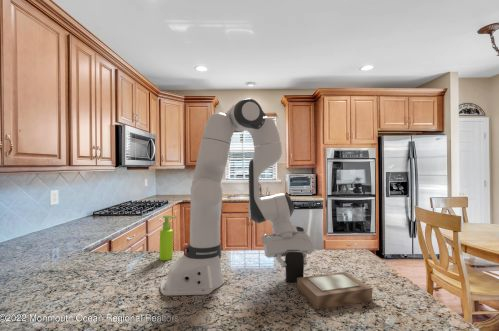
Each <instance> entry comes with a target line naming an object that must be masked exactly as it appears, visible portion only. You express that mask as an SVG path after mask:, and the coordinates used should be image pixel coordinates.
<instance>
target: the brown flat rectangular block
mask: <svg viewBox="0 0 499 331" xmlns="http://www.w3.org/2000/svg"><path fill="white" fill-rule="evenodd" d="M296 290H297V291H298V292H299V293H300V294H301V295H302V296H303V297H304V298H305V299H306V300H307V301H308V302H309V303H310V304H311V305H312V307H314V308H315V309H316V310H323V309H329V308H336V307H341V306H348V305H355V304H359V303H360V304H361V303H365V302H371V301H373V288H372V287H371V286H370V285H368V284H366V283H364V282H363V281H362V280H360V279H358V278H356V277H355V276H353V275H352V274H350V273H348V272H347V271H343V272H334V273H328V274H327V273H326V274H318V275H316V274H315V275H309V276H303V277H300V278H297V282H296Z"/></svg>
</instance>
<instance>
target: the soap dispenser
mask: <svg viewBox="0 0 499 331" xmlns="http://www.w3.org/2000/svg"><path fill="white" fill-rule="evenodd" d="M162 218H164V222H162V229H161V230H159V254H158V255H159V256H158V257H159V260H160V261H169V260H172V259H173V255H174V253H173V252H174V251H173V250H174V249H173V248H174V246H173V244H174V230H173V229H171V222H169V221H170V220H169V219H175V218H176V216H174V215H164V216H162Z"/></svg>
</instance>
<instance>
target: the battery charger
mask: <svg viewBox="0 0 499 331" xmlns="http://www.w3.org/2000/svg"><path fill="white" fill-rule="evenodd" d="M284 261H285V262H286V267H284V268H285V269H284V270H285V278H284V279H285V282H286V283H297V278H300V277H304V274H305V273H304V271H305V269H304V268H305V265H304V255H303V253H302V252H301V251H300V250H287V251H286V253H285V256H284Z"/></svg>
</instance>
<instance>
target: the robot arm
mask: <svg viewBox="0 0 499 331" xmlns="http://www.w3.org/2000/svg"><path fill="white" fill-rule="evenodd" d="M204 126H205V127H204V129H203V132H202V137H201V141H200V144H199V149H198V155H197V159H196V163H195V167H194V174H193V176H192V177H193V178H192V182H191V186H190V209H189V211H190V212H189V213H190V216H189V218H190V219H189V220H190V221H189V244H188V243H186V242H185V243H183V244H182V249H183V255H182V256H180V257H179V258H178V259H177V260H176V261H175V262H173V263H172V264H171V265H170V266H169V268H168V272H167V275H166V276H165V277H164V278H163V279H162V280H161V282H160V287H159V289H160V290H159V291H160V293H161V295H163V296H166V297H167V296H168V297H169V296H195V295H196V296H197V295H198V296H199V295H201V296H203V295H210V294H211V293H212V292H213V291H214V290H216V289H218V288H220V287H222V285H223V284H224V283H225V280H224V276H223V271H222V265H221V258H222V243H221V216H222V207H223V206H222V205H223V188H222V186H221V184H222V180H223V176H224V172H225V169H226V167H227V162H228V158H229V157H228V156H229V154H230V148H231V142H232V138H233V135H234V133H242V132H245V131H247V132H248V133H249V135H250V136H251V138H252V142H253V144H252V145H253V148H254V149H253V151H254V153H253V157H252V158H251V159H250V160H249V163H248V199H249V200H248V209H247V212H248V215H249V218H250V220H251V221H252V222H255V223H256V224H261V223H264V222H267V221H269V222H270V224H271V226H272V227H271V229H272V233H265V234H263V235H262V237H261V242H262V245H263V250H264V256H265V257H266V258H269V259H271V258H275V260H277V262H278V263H279V264H280V267H281V268H285V267H286V262H285V260H283V259H282V257H285V253H286V251H287V250H300V251H301V252H302V253H303V255H304V266H307V265H308V261H307V256H308V255H311V254H312V253H313V252H314V250H315V246H314V244H313V241H312V239H311V237H310V236H309V234H308V233H307V230H306V227H302V226H299V225H296V224H293V223H292V221H291V220H290V217H292V215H293V214H294V211H295V206H294V204H293V201H292V198H291V197H290V196H289V195H288V194H287V193H286V192H281V193H276V194H272V195H268V196H263V197H262V196H261V197H260V194H259V193H260V191H259V190H260V189H259V188H260V187H259V186H260V184H259V181H260V176H261V175H262V174H263V172H265V171H266V170H268V169H270V168H272V167H273V166H275V165H276V164H277V163H278V162H279V160H280V159H281V157H282V153H283V151H282V149H283V148H282V142H281V138H280V134H279V131H278V127H277V125H276V122H275V120H274V119H273V118H272V117H269V116H266V113H265V112H264V111H263V107H261V105H260V103H258V102H257V100H255V99H253V98H243V99H240V100H239V101H237V103H235V104H233V105H232V106H231V107H230V108H229V110H227V111H226V112H225V113H223V112H215V113H212V114H210V115H209V117H208V118H207V121H206V124H205V125H204Z"/></svg>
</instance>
